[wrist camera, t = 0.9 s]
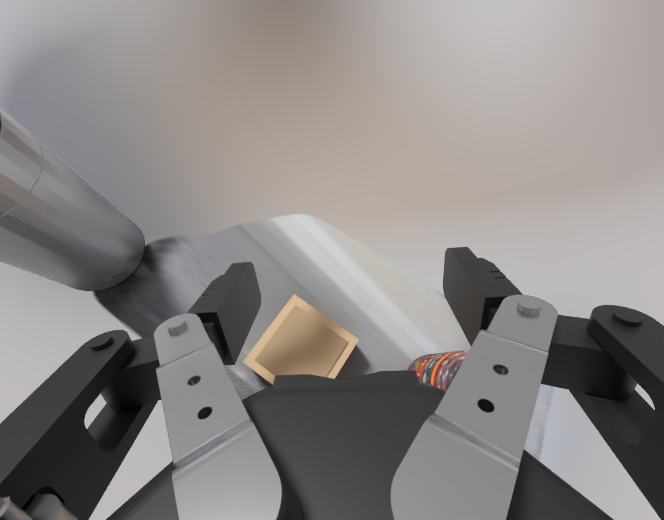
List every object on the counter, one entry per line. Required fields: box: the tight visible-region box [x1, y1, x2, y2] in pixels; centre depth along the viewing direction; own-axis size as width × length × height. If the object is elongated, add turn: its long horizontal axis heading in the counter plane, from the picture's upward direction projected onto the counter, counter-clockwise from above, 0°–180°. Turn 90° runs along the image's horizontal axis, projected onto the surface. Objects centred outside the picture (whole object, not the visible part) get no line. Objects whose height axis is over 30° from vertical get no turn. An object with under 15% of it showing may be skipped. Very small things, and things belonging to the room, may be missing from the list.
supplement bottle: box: [408, 351, 469, 391], centre depth 26 cm, size 6×6×11 cm
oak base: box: [243, 294, 359, 385], centre depth 30 cm, size 8×8×3 cm
